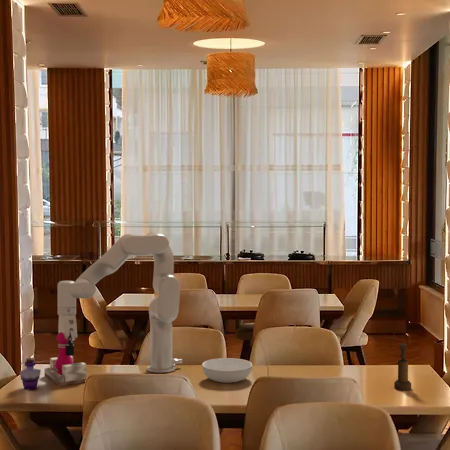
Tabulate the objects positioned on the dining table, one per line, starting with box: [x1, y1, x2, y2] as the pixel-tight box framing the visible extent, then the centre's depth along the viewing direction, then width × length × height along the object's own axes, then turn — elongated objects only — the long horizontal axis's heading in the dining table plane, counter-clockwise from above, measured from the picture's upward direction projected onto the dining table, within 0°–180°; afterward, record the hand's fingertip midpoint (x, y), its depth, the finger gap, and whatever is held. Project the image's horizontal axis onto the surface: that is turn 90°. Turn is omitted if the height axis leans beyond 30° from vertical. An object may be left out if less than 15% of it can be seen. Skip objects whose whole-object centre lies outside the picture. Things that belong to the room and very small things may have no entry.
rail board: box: [44, 355, 87, 387], centre depth 319 cm, size 12×18×8 cm, turn 32°
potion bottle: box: [19, 357, 41, 391], centre depth 305 cm, size 9×9×12 cm
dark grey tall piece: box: [393, 342, 412, 391], centre depth 304 cm, size 7×6×18 cm
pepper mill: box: [56, 332, 74, 375], centre depth 319 cm, size 7×7×20 cm
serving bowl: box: [201, 357, 253, 384], centre depth 318 cm, size 21×21×7 cm
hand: (67, 353), depth 319 cm, fingers open, 5 cm apart
